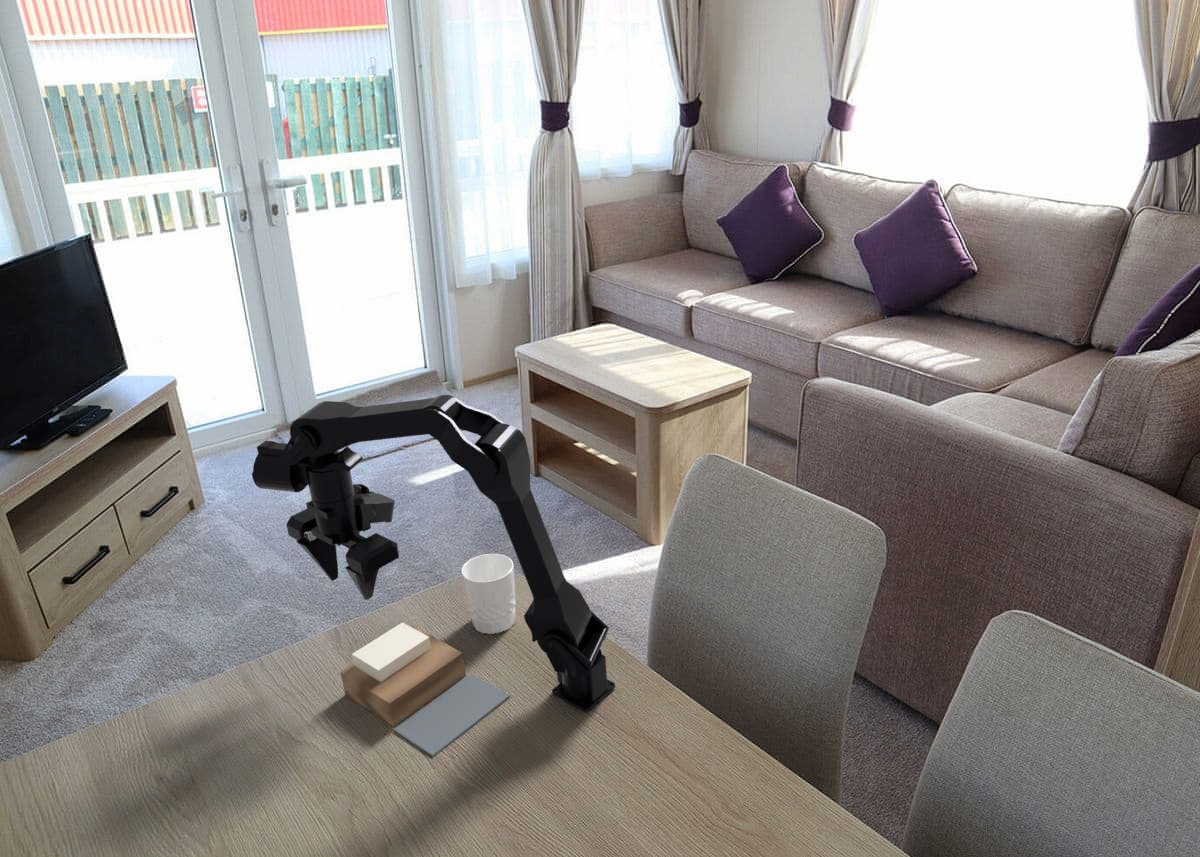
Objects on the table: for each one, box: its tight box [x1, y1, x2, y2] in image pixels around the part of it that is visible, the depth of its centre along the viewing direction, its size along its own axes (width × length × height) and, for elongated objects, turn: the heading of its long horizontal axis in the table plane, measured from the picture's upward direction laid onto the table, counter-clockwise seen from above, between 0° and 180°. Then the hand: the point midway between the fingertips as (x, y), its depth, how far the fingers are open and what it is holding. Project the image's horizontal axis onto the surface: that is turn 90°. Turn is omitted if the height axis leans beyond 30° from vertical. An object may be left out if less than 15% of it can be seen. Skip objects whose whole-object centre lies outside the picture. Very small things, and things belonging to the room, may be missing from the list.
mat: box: [393, 672, 511, 757], centre depth 126 cm, size 8×14×1 cm, turn 140°
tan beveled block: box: [340, 625, 467, 728], centre depth 131 cm, size 11×13×4 cm
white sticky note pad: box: [351, 622, 431, 682], centre depth 131 cm, size 6×9×2 cm, turn 140°
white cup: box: [461, 553, 517, 635], centre depth 142 cm, size 8×8×10 cm
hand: (351, 588), depth 133 cm, fingers open, 8 cm apart
